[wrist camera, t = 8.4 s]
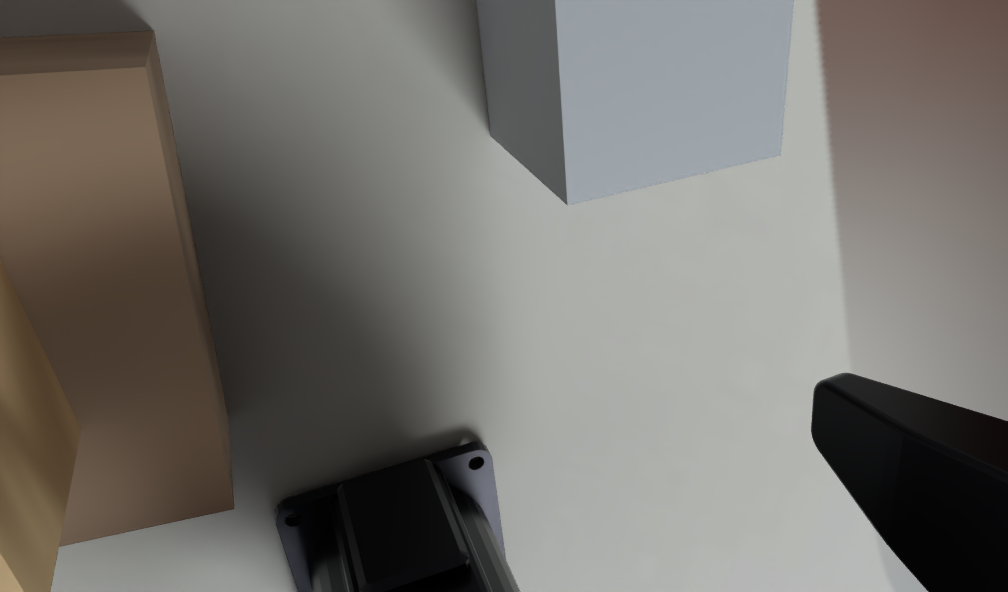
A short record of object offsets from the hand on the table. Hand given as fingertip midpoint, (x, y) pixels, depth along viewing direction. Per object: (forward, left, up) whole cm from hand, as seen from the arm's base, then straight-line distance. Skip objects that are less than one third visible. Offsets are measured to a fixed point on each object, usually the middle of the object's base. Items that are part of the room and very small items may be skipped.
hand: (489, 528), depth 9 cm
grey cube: (+3, -7, -12) cm, 14 cm away
